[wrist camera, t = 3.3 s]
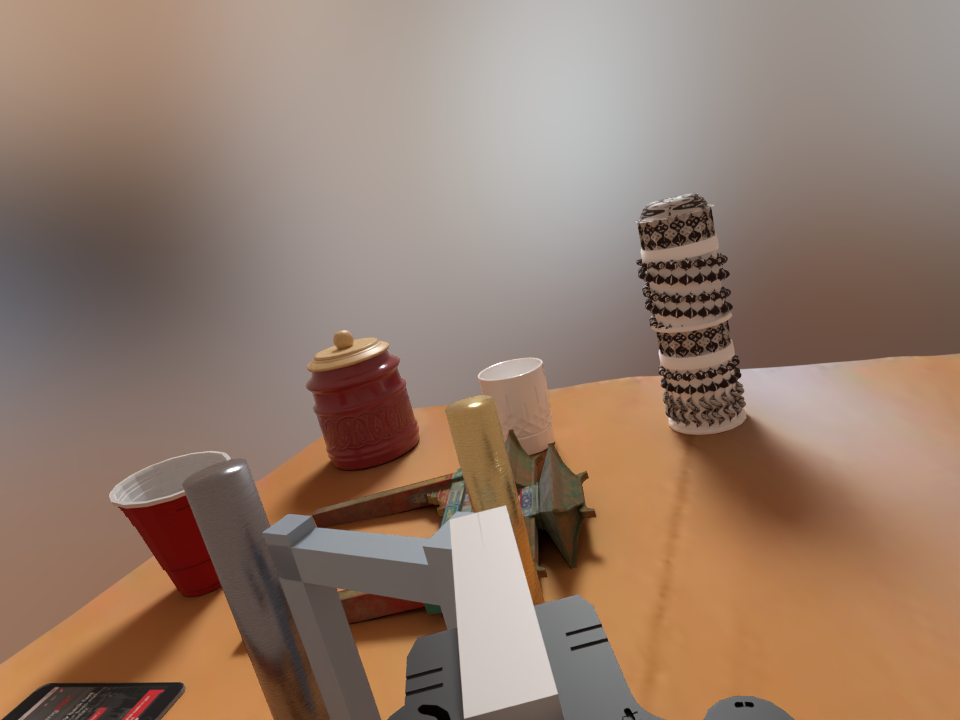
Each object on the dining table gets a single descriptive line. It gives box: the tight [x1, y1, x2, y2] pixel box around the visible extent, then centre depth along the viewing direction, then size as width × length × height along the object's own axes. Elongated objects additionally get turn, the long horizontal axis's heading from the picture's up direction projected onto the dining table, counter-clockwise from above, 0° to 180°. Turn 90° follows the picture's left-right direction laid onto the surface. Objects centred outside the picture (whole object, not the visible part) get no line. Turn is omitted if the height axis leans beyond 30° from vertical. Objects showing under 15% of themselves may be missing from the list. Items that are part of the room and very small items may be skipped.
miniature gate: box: [312, 429, 596, 624], centre depth 57 cm, size 27×6×30 cm
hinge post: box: [182, 459, 330, 720], centre depth 32 cm, size 3×3×20 cm
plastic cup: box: [109, 451, 231, 597], centre depth 61 cm, size 11×11×12 cm
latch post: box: [445, 395, 545, 606], centre depth 39 cm, size 3×3×18 cm
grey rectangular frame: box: [262, 511, 522, 720], centre depth 27 cm, size 12×2×18 cm, turn 60°
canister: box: [306, 330, 419, 470], centre depth 85 cm, size 13×13×18 cm
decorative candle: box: [635, 193, 747, 435], centre depth 67 cm, size 9×9×25 cm
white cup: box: [478, 358, 555, 455], centre depth 75 cm, size 8×8×10 cm
